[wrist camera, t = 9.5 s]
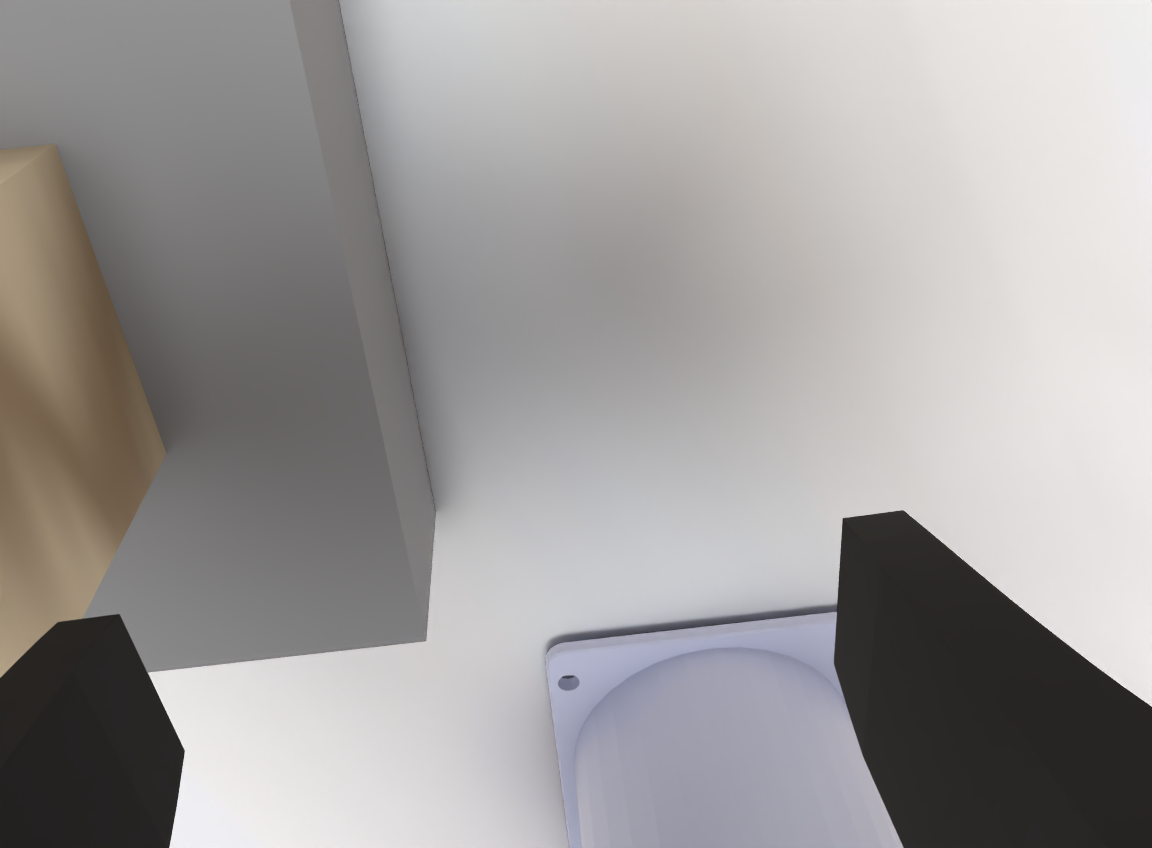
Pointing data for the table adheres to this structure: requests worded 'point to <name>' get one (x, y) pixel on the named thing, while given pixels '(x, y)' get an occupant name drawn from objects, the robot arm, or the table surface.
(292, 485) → the flat grey base plate
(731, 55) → the table surface
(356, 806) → the table surface
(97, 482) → the birch cube
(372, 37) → the table surface
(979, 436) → the table surface
